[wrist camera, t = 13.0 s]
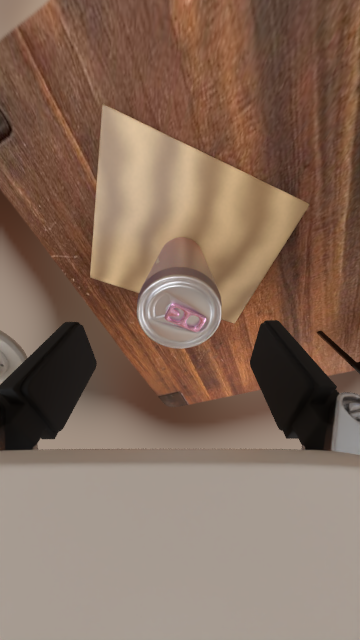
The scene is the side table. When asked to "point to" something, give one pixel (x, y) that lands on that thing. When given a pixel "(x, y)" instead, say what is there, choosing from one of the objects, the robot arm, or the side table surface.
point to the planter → (340, 352)
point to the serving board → (183, 211)
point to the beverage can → (179, 297)
